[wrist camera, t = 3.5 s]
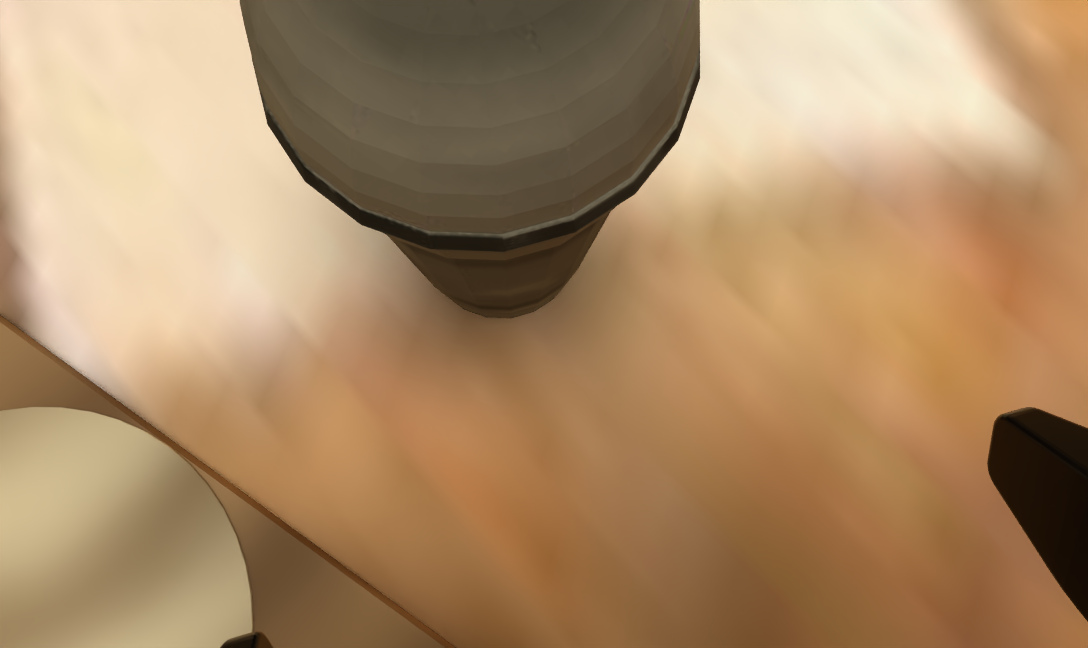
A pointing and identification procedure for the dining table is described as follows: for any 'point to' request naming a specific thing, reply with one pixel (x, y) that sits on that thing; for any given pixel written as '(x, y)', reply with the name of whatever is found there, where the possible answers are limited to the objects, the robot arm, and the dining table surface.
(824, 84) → the dining table surface
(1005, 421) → the robot arm
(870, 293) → the dining table surface
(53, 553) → the walnut board
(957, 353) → the dining table surface
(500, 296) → the beverage cup
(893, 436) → the dining table surface
